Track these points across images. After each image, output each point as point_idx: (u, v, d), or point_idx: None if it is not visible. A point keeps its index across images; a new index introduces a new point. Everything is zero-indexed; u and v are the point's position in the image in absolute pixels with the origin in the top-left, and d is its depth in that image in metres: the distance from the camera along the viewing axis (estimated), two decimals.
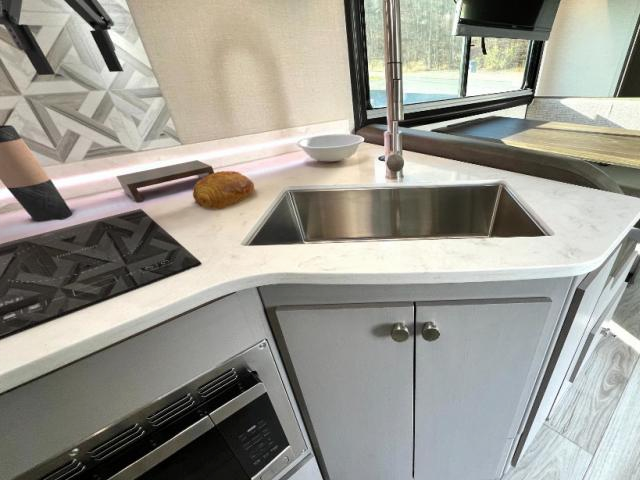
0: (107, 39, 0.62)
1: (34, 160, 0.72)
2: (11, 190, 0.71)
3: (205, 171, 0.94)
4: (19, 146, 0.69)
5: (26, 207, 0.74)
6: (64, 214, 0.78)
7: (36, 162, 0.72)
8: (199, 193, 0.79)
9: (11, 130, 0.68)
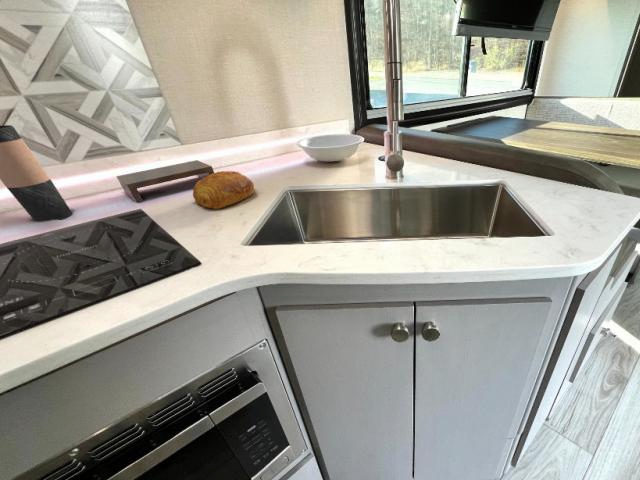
0: None
1: (34, 160, 0.72)
2: (11, 190, 0.71)
3: (205, 171, 0.94)
4: (19, 146, 0.69)
5: (26, 207, 0.74)
6: (64, 214, 0.78)
7: (36, 162, 0.72)
8: (199, 193, 0.79)
9: (11, 130, 0.68)
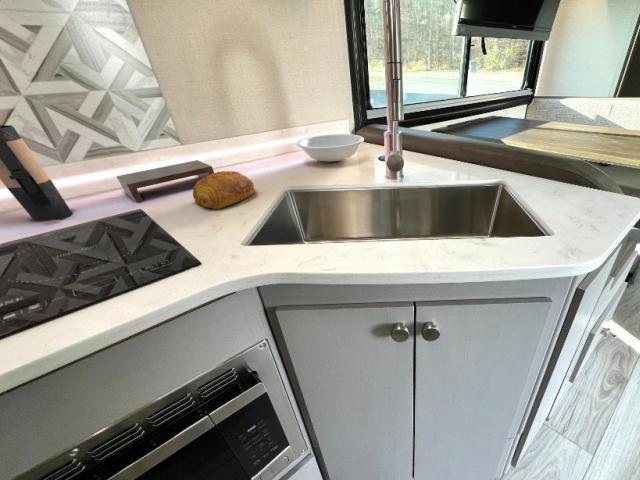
0: None
1: (34, 160, 0.72)
2: (11, 190, 0.71)
3: (205, 171, 0.94)
4: (19, 146, 0.69)
5: (26, 207, 0.74)
6: (64, 214, 0.78)
7: (36, 162, 0.72)
8: (199, 193, 0.79)
9: (11, 130, 0.68)
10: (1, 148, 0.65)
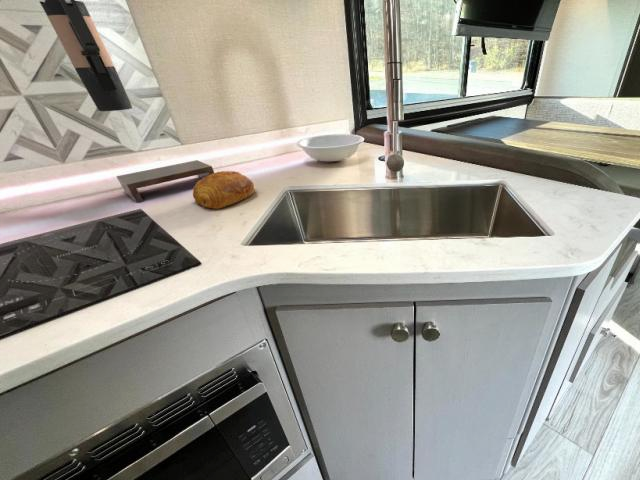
0: None
1: (102, 42, 0.73)
2: (80, 71, 0.72)
3: (205, 171, 0.94)
4: (90, 23, 0.70)
5: (92, 91, 0.75)
6: (126, 105, 0.79)
7: (103, 45, 0.73)
8: (199, 193, 0.79)
9: (83, 5, 0.69)
10: (76, 17, 0.66)
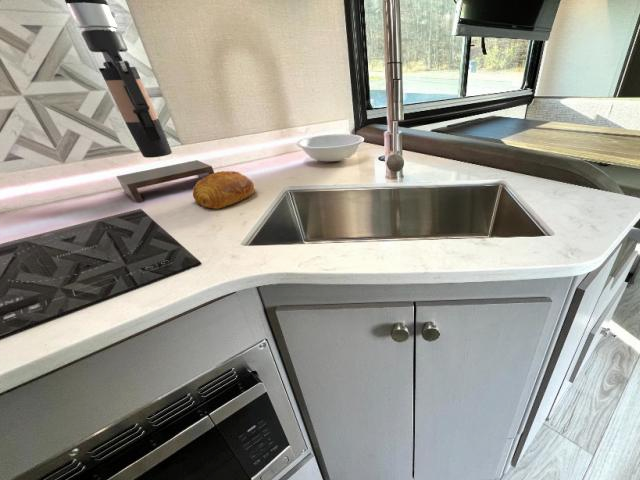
0: None
1: (149, 99, 0.82)
2: (130, 125, 0.82)
3: (205, 171, 0.94)
4: (140, 84, 0.79)
5: (140, 141, 0.84)
6: (167, 151, 0.89)
7: (150, 101, 0.83)
8: (199, 193, 0.79)
9: (135, 70, 0.78)
10: (131, 83, 0.75)
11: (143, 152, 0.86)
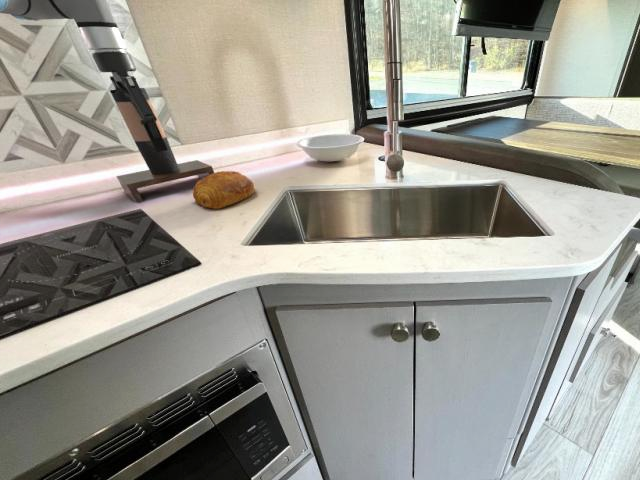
0: None
1: (157, 118, 0.85)
2: (139, 143, 0.84)
3: (205, 171, 0.94)
4: (149, 105, 0.82)
5: (148, 159, 0.87)
6: (175, 167, 0.91)
7: (158, 120, 0.86)
8: (199, 193, 0.79)
9: (144, 91, 0.81)
10: (138, 96, 0.76)
11: (151, 169, 0.89)
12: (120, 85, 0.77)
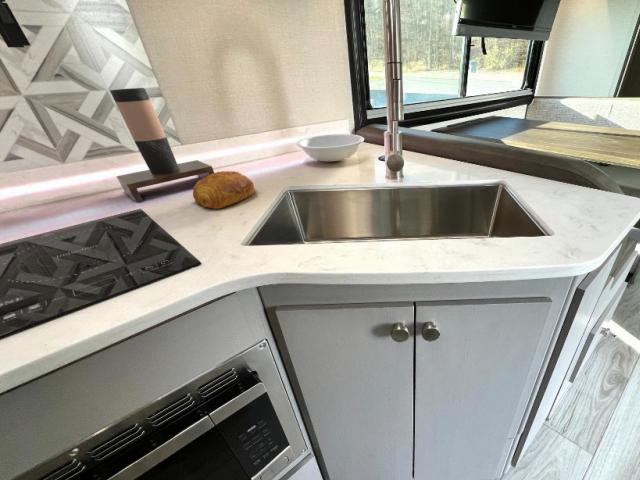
0: None
1: (157, 118, 0.85)
2: (139, 143, 0.84)
3: (205, 171, 0.94)
4: (149, 105, 0.82)
5: (148, 159, 0.87)
6: (175, 167, 0.91)
7: (158, 120, 0.86)
8: (199, 193, 0.79)
9: (144, 91, 0.81)
10: None
11: (151, 169, 0.89)
12: None
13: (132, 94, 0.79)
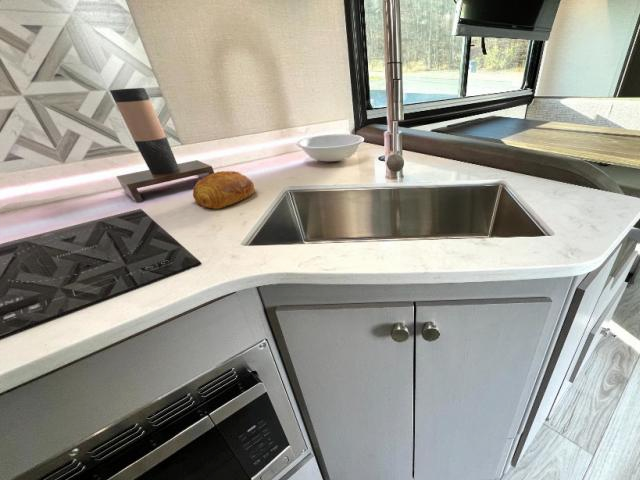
0: None
1: (157, 118, 0.85)
2: (139, 143, 0.84)
3: (205, 171, 0.94)
4: (149, 105, 0.82)
5: (148, 159, 0.87)
6: (175, 167, 0.91)
7: (158, 120, 0.86)
8: (199, 193, 0.79)
9: (144, 91, 0.81)
10: None
11: (151, 169, 0.89)
12: None
13: (132, 94, 0.78)
